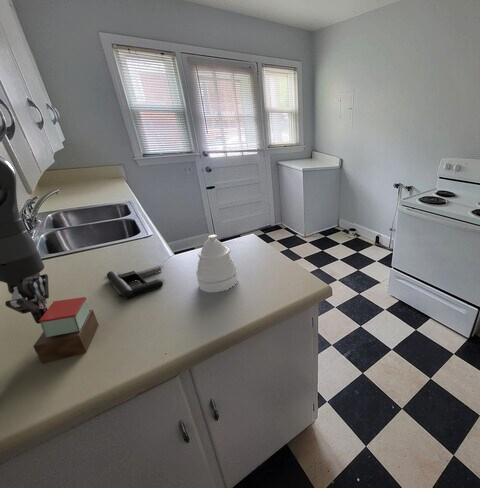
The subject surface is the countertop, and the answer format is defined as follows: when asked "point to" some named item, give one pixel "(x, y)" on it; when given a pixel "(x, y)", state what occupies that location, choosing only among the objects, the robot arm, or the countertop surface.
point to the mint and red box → (64, 316)
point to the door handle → (125, 278)
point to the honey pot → (215, 267)
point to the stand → (67, 342)
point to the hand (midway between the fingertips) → (44, 321)
